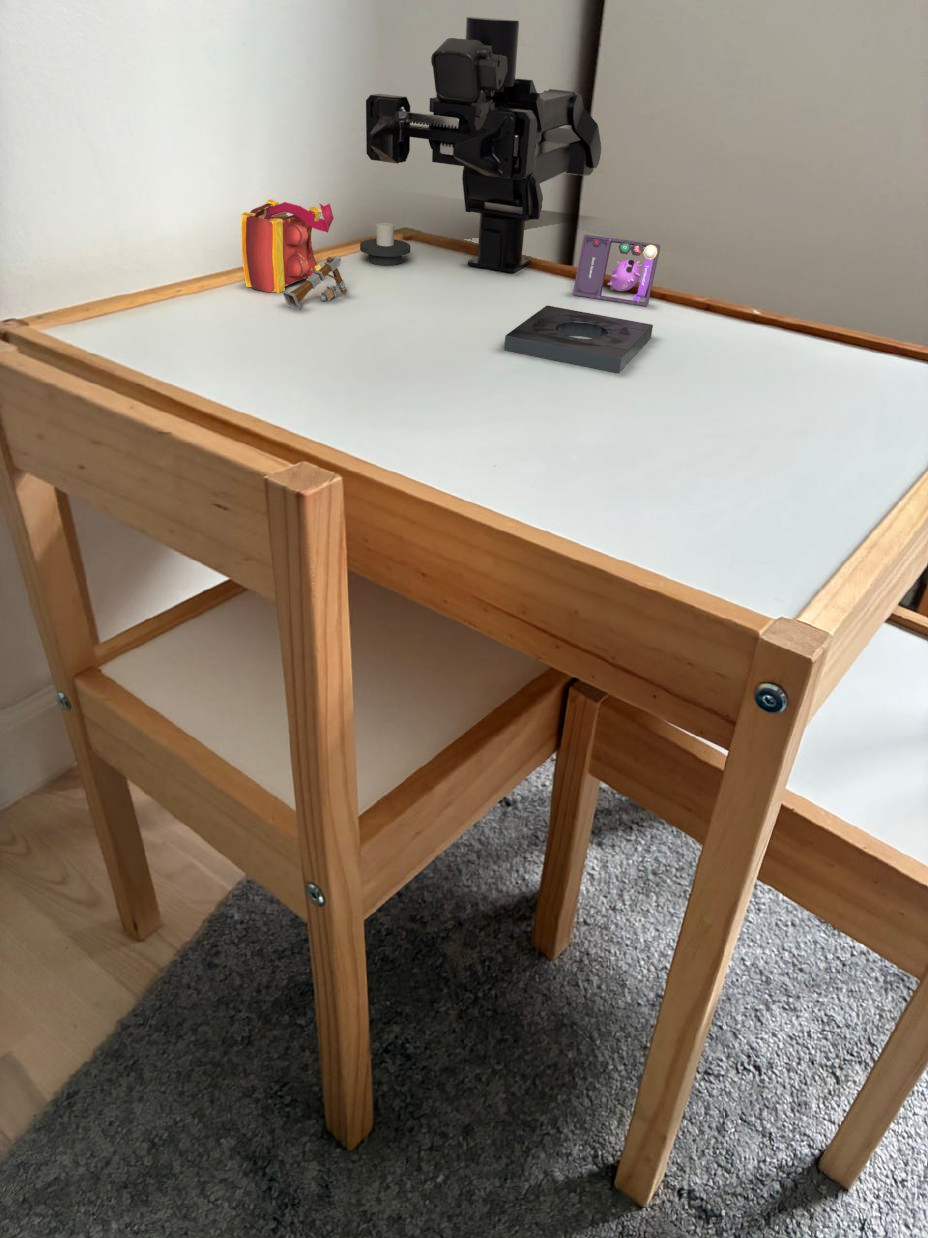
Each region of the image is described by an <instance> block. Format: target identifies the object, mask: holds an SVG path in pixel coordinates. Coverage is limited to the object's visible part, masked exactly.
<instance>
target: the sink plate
mask: <svg viewBox="0 0 928 1238" xmlns="http://www.w3.org/2000/svg"><path fill="white" fill-rule="evenodd" d="M653 328H654V324H651V323H645V322H640V321H635V320H630V319H625V318H619V317H613V316H607V315H603V314H597V313H591V312H585V311H580V310H574V309H570V308H563V307H558V306H552V305H545V306H544V307H542V308H540V309H539V310H538V311H537V312H536V313H534V314H532V315H531V316H530V317H529V318H527V319H526V320H524V321H523V322H522V323H520V324H519V325H518V326H516V327H515V328H513V329H512V330H511V331H509V332H507V334H506V335H504V337H505V338H504V349H503V351H506V352H507V351H508V352H513V353H517V354H521V355H526V356H533V357H537V358H542V359H546V360H551V361H557V362H561V363H566V364H572V365H577V366H581V367H587V368H590V369H591V368H592V369H596V370H601V371H606V372H612V373H615V374H620V373H621V372H622V370H623V369H624V368H625V367H627V365H628V364H629V362H631V361H632V359H633V358H635V356H636V355H637V354H638V353H639V352H640V351H641V350H642V348H643V347H644V346H645V345H646V344H647V343H648V342H649V341H650V340H651V339H652V333H653ZM574 336H576V337H574ZM579 337H585V338H579Z"/></svg>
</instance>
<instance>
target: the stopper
mask: <svg viewBox="0 0 928 1238" xmlns="http://www.w3.org/2000/svg"><path fill="white" fill-rule="evenodd" d="M359 250H360V252H362V253H363V254H366V255H367V261H368V262H369V263H370V264H373V265H378V266H397V265H400V264H402V263H403V256H406V255H408V254H410V253H411V244H410V243H409V242H406V241H404V240H400V239H395V225H394V224H393V223H391V222H378V223H376V238H370V239H366V240H362V241H361V242H360V243H359Z"/></svg>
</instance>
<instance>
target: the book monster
mask: <svg viewBox="0 0 928 1238" xmlns="http://www.w3.org/2000/svg"><path fill="white" fill-rule="evenodd" d="M319 207H320V209H319V208H318V207H316V206H312V207H309V210H308V209H306V208H305V207H302V206H301V205H299V204H294V203H291V202H287V201H283V202H281V203H280V202H279V201H276V200H274V199H268V200H266V203H265V204H262V205H260V206H258V207H254V208H253V209H251V210H250V211H249V212H248V211H244V212H243V213H242V214H241V221H240V222H241V224H240V225H241V226H240V230H241V231H240V232H241V233H240V236H241V237H240V238H241V257H242V266H243V276H244V282H245V287H246V288H252V289H253V290H258V291H262V292H264V293H265V292H266V293H278V294H280V293H282V292H284V291H286V287H287V286H289V285H292V284H293V283H296V282H298V281H301V280H306V279H308V278H309V277H310V276H311V275H312V273H314V274H315V271H316V270H317V271H318V270H319V269H320V268H322V267H321V264H318V263H317V260H316V258H315V254H314V250H313V245H312V232H313V231H312V230H313V229H314V230H317V231H320V232H325V233H329V230H330V227H331V225H332V223H333V221H334V215H333V210H332V207H331V203H330V202H329V203H328V204H326V205H323V204H322V203H319ZM288 214H291V215H288ZM321 215H322V218H321Z"/></svg>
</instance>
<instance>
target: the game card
mask: <svg viewBox="0 0 928 1238" xmlns="http://www.w3.org/2000/svg"><path fill="white" fill-rule="evenodd" d="M612 243H614V244H619V245H618V250H619V253H620V254H621V255H622V254H623V255H629V253H630V252H631V255H632V256H636V257H640V256H641V255H642V254H643V257H644V262H643V264H640V262H641V261H640V260H639V261H637V260H636V259H635V260H633V259H628V258H627V259H623V260H622V261H619V260H616V264H617V265H616V267H615V269H611V273H612V274H611V275H610V280H609V282H607V286H609V291H614V290H615V291H618V292H626V291H629V290H631V289H633V288H634V287H635V286H636V285H637V284H638V282H639V285H638V288H637V293H635V294H634V295H633V298H632V299H625V298H621V297H612V296H607V295H602V292H603V287H604V282H605V277H606V273H607V267H608V262H609V257H610V251H611V246H612ZM660 250H661V245H660V244H658V243H649V242H643V241H637V240H630V239H629V240H628V239H621V238H614V237H607V236H599V235H592V234H584V235H583V238H582V242H581V248H580V253H579V258H578V259H579V260H578V264H577V268H576V269H577V270H576V275H575V280H574V286H573V291H572V294H573V296H576V297H577V296H578V297H584V298H591V299H597V300H605V301H611V302H615V303H616V302H617V303H624V304H630V305H635V306H643V307H647V306H649V303H650V298H651V293H652V288H653V284H654V280H655V279H654V278H655V274H656V270H657V265H658V260H659V255H660ZM641 267H642V272H641V273H640V268H641ZM641 297H645V300H644V301H640V299H641Z"/></svg>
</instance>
